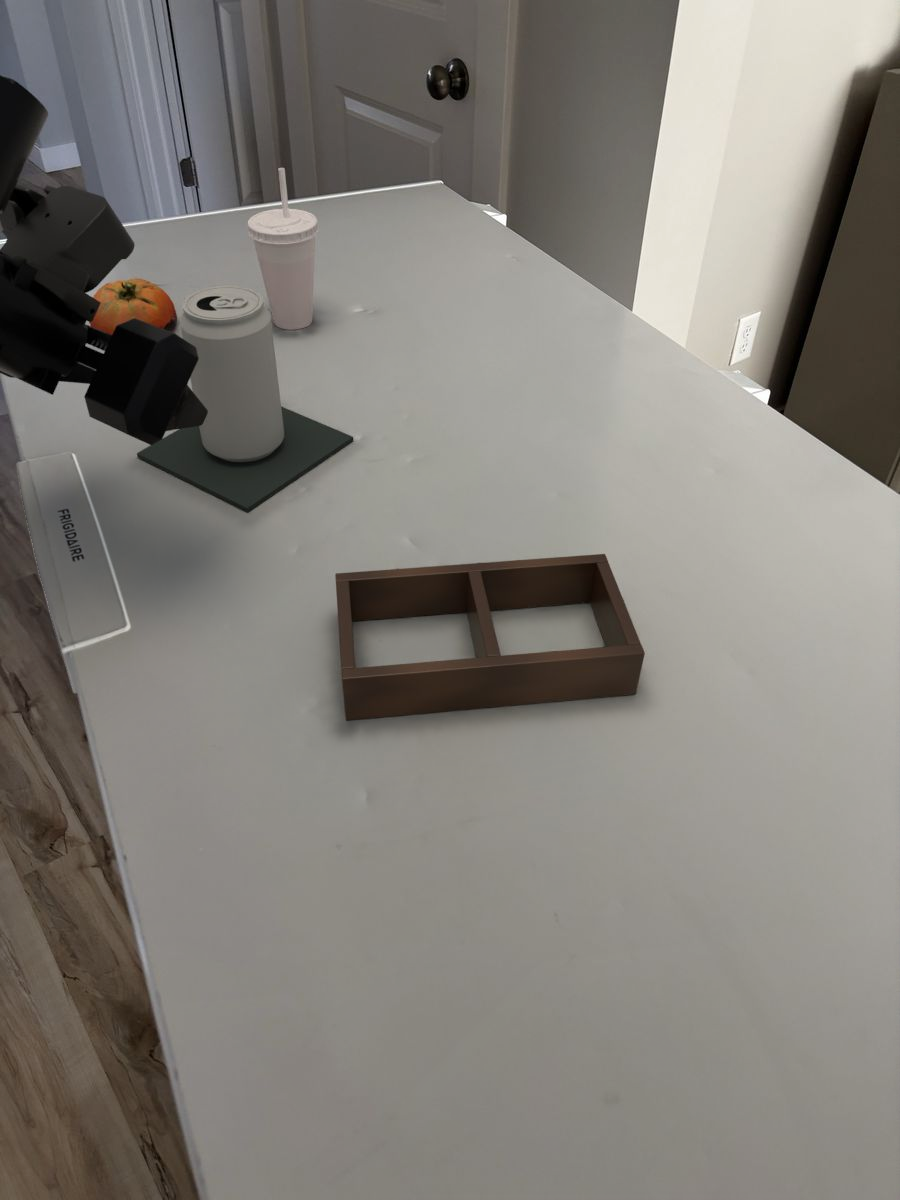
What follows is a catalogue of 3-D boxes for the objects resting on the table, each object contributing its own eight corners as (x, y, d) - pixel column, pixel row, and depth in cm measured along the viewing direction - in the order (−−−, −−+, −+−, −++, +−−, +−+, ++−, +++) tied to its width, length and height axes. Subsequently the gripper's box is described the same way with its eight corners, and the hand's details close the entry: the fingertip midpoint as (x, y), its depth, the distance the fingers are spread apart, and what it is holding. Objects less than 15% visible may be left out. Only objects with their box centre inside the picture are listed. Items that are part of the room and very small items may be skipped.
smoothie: (339, 317, 91) (328, 167, 82) (297, 342, 87) (281, 187, 78) (288, 301, 94) (273, 154, 84) (246, 325, 90) (224, 173, 80)
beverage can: (210, 423, 76) (184, 281, 68) (289, 423, 76) (273, 281, 68) (197, 468, 71) (167, 320, 63) (281, 467, 71) (262, 320, 63)
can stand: (345, 720, 53) (341, 679, 51) (338, 614, 60) (335, 573, 57) (636, 694, 55) (645, 653, 53) (598, 593, 62) (605, 553, 59)
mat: (137, 457, 73) (136, 453, 72) (246, 395, 80) (246, 391, 80) (247, 512, 68) (247, 508, 67) (353, 440, 75) (353, 436, 75)
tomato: (72, 338, 84) (82, 258, 84) (92, 356, 91) (101, 283, 91) (163, 351, 85) (172, 272, 85) (176, 369, 92) (184, 296, 92)
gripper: (138, 187, 45) (308, 325, 59) (-82, 121, 53) (114, 257, 67) (43, 396, 45) (235, 484, 59) (-162, 299, 53) (51, 397, 67)
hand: (156, 397), depth 63 cm, fingers open, 9 cm apart
